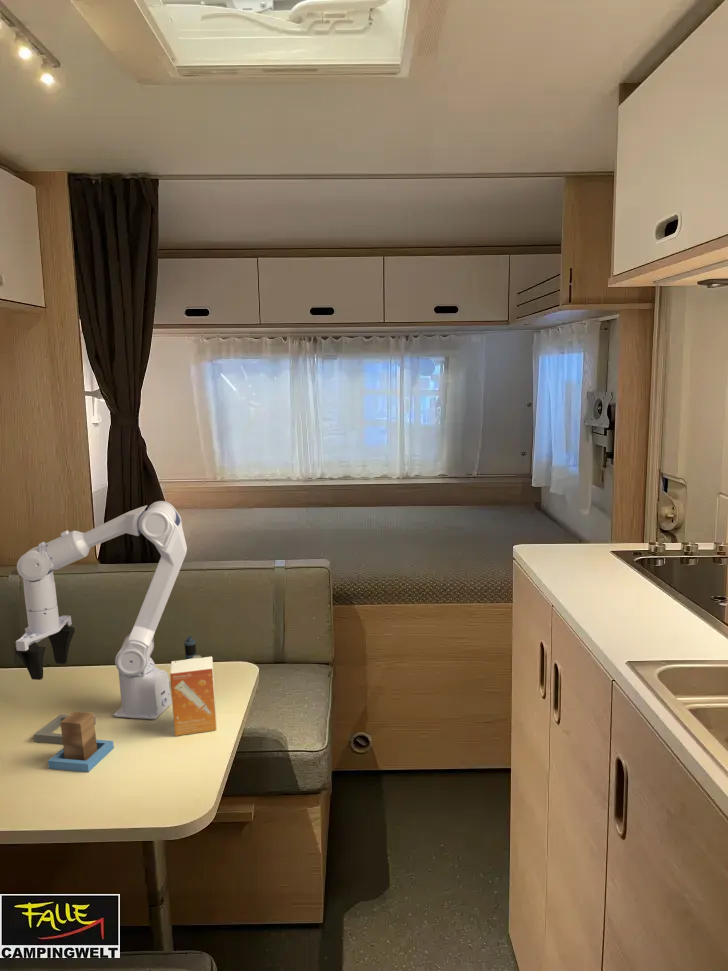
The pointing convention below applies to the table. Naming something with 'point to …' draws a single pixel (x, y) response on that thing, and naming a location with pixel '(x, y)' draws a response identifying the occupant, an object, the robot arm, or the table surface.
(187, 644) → the vaping device
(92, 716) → the walnut peg
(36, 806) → the table surface
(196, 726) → the small box
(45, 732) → the frame
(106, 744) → the blue rim cradle
